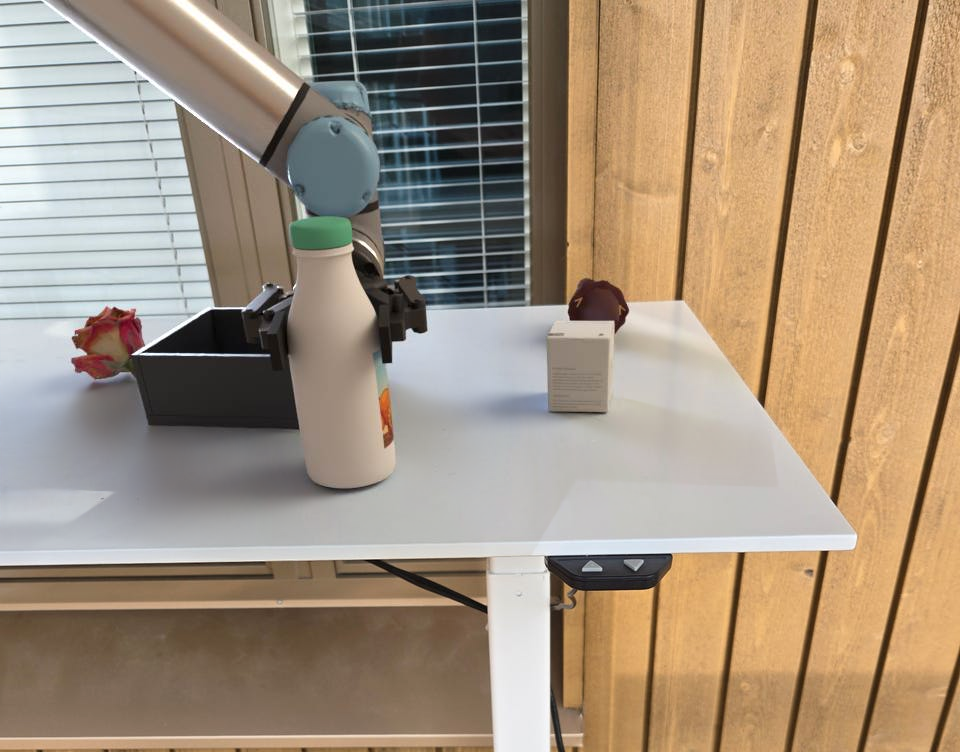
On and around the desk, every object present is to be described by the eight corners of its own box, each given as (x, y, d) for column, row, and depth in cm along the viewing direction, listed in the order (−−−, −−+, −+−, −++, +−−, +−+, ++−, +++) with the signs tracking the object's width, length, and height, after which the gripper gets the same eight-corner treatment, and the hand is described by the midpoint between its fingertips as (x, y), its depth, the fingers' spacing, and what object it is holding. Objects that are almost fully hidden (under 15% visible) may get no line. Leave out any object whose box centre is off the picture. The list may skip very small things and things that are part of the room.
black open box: (148, 424, 89) (129, 355, 85) (220, 369, 103) (207, 307, 99) (313, 429, 86) (302, 357, 82) (364, 371, 100) (357, 307, 96)
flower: (184, 352, 103) (139, 293, 102) (143, 360, 95) (93, 295, 93) (129, 399, 107) (85, 343, 105) (85, 411, 99) (36, 350, 97)
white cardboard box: (613, 393, 91) (616, 319, 87) (608, 414, 86) (611, 337, 82) (554, 391, 92) (554, 318, 88) (546, 412, 87) (545, 336, 83)
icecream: (655, 294, 98) (614, 277, 111) (592, 282, 96) (558, 266, 109) (638, 358, 101) (600, 334, 114) (577, 347, 99) (545, 325, 112)
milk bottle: (374, 495, 73) (343, 231, 61) (291, 486, 75) (246, 229, 63) (410, 458, 79) (388, 211, 67) (332, 450, 81) (298, 210, 69)
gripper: (452, 312, 87) (469, 389, 68) (244, 326, 86) (203, 407, 67) (447, 230, 83) (464, 287, 64) (228, 243, 82) (180, 305, 63)
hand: (330, 348), depth 66 cm, fingers closed on milk bottle, 7 cm apart
